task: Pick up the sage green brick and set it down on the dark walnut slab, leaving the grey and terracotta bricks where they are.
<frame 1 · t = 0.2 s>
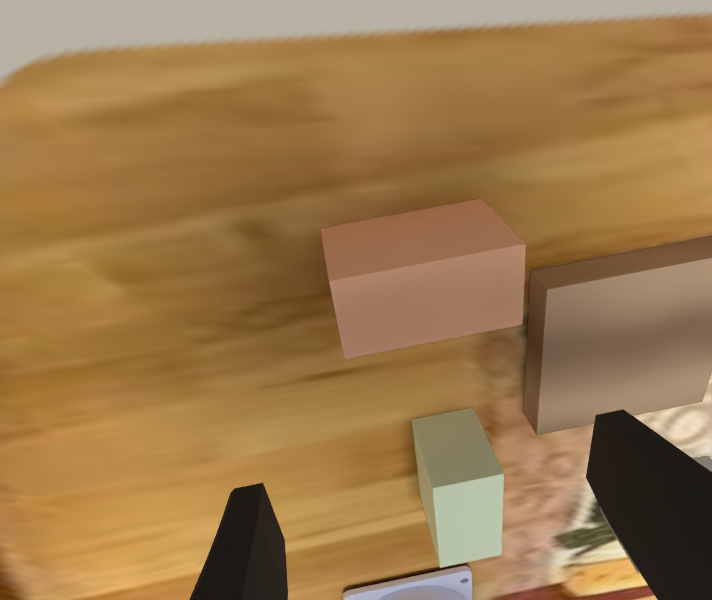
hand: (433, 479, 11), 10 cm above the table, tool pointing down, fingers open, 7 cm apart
terracotta brick: (404, 248, 19), on the table
walnut slab: (607, 325, 23), on the table
sage brick: (444, 453, 26), on the table
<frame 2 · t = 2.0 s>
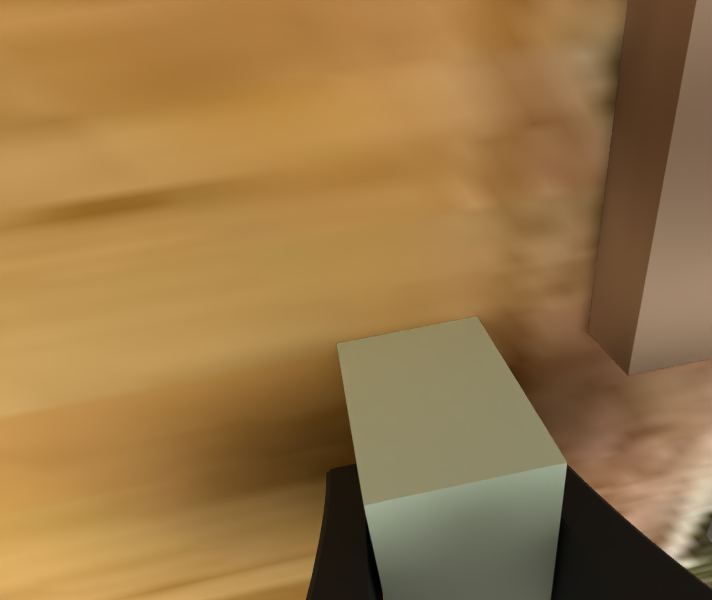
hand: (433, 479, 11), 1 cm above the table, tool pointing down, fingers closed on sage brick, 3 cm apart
sage brick: (417, 426, 12), on the table, touching gripper
when the fingers open (4 cm above the table, at t = 6.2 s): sage brick drops 1 cm, resting on walnut slab.
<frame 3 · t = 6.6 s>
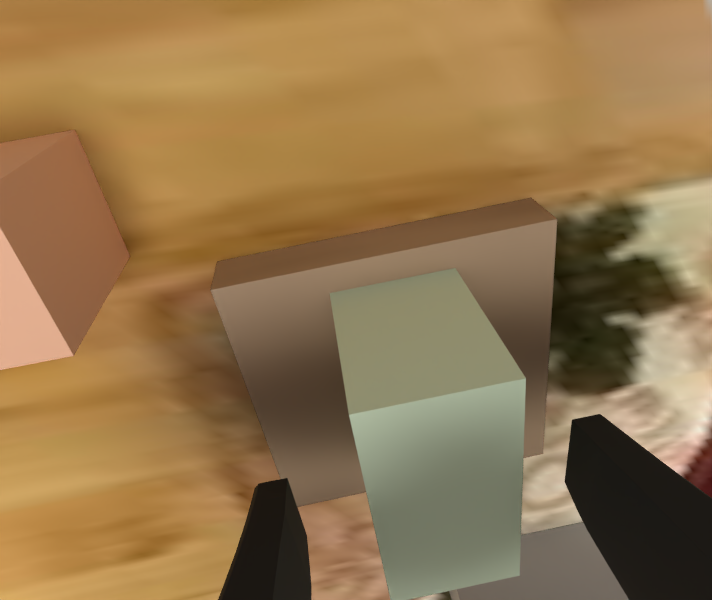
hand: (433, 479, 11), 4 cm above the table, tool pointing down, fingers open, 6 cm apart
grey brick: (515, 554, 21), on the table
walnut slab: (390, 341, 15), on the table, touching sage brick
sage brick: (405, 377, 13), point 1 cm above the table, touching walnut slab
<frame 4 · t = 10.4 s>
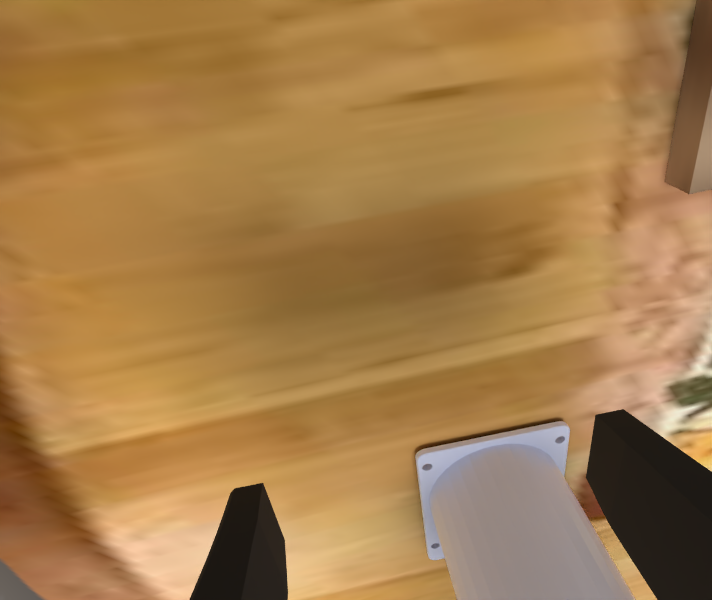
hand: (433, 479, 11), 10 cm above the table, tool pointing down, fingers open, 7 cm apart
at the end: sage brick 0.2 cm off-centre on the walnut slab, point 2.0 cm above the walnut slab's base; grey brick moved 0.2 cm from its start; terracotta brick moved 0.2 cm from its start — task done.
